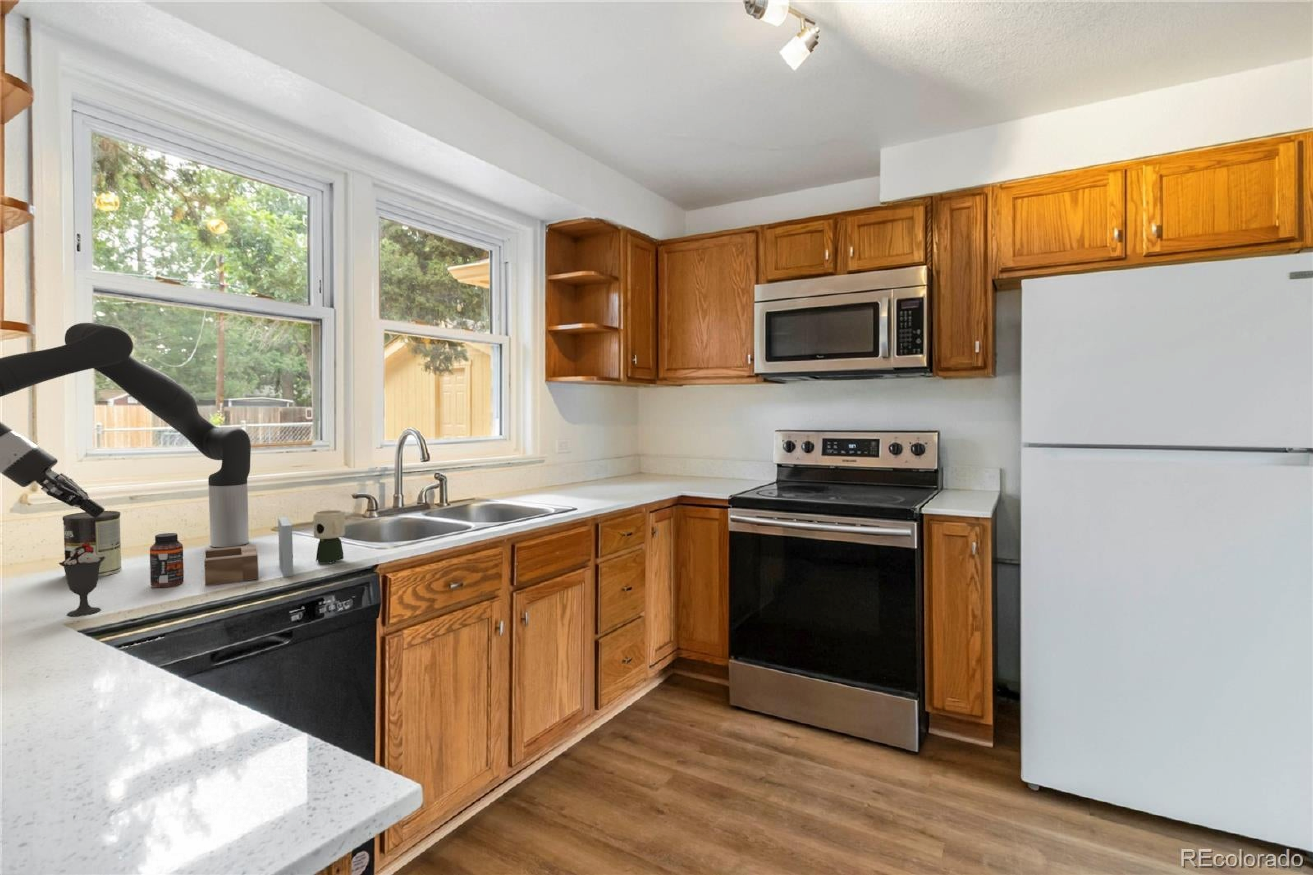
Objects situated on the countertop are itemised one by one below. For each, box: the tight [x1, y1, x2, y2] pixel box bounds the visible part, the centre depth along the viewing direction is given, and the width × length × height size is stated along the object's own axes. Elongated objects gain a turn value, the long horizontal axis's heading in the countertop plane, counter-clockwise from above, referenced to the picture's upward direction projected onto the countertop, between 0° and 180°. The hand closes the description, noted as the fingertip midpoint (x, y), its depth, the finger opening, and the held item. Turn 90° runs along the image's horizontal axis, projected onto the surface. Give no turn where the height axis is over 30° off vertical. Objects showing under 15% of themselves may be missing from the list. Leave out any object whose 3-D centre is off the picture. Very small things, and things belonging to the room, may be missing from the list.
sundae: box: [58, 535, 105, 617], centre depth 125 cm, size 7×7×15 cm
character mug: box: [313, 509, 346, 564], centre depth 165 cm, size 11×7×13 cm, turn 46°
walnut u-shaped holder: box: [203, 544, 259, 586], centre depth 151 cm, size 13×10×6 cm
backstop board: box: [277, 516, 294, 578], centre depth 157 cm, size 13×2×12 cm, turn 34°
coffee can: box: [62, 510, 123, 578], centre depth 153 cm, size 10×10×14 cm
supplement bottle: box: [149, 532, 185, 588], centre depth 144 cm, size 6×6×11 cm
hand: (100, 513), depth 137 cm, fingers closed
